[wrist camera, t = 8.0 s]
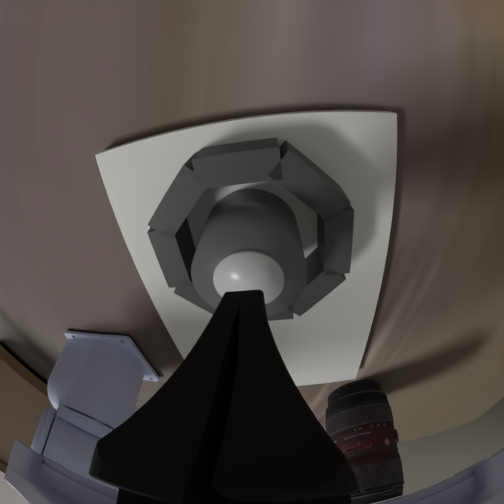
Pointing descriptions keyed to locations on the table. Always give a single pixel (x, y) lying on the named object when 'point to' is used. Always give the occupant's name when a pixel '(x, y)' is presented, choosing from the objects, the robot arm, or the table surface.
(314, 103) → the table surface
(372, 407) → the camera lens
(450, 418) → the table surface
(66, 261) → the table surface
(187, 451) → the robot arm
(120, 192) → the board
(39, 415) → the photo frame
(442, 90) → the table surface
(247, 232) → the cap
